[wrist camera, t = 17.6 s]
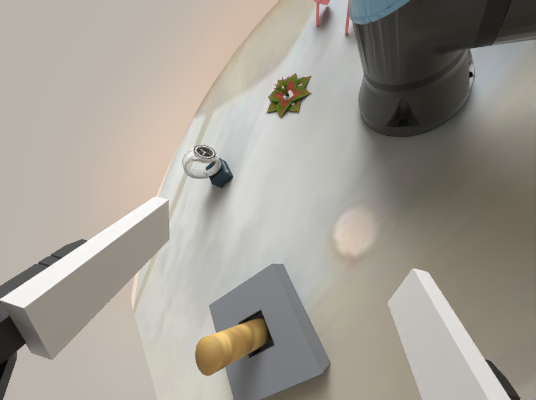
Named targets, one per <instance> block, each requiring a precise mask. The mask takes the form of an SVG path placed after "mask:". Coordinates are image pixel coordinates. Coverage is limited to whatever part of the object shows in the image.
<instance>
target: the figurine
mask: <svg viewBox="0 0 536 400" xmlns="http://www.w3.org/2000/svg"><path fill="white" fill-rule="evenodd" d="M314 1H315V2H317V11H316V26H318V25H319V3H320V4H324V5H328V3H329V1H330V0H314ZM349 18H350V15H349V2H348V11H347V19H346V28H345V34H348V26H349Z"/></svg>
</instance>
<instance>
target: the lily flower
mask: <svg viewBox="0 0 536 400" xmlns="http://www.w3.org/2000/svg"><path fill="white" fill-rule="evenodd" d="M310 77H311V76H310ZM310 77H306V78H305V77H303V78H300V79H299V80H297V75H296V73H295V74H294V75H292V76H291V77H289V78H287V80H286V79H285V80H283V77H282V80H278V83H277V85H276V88H274V89H276V90H274V91H273V92H272V93H271V95H270V96H268V97H269V98H270V99H271V100H272V102H271V104H270V106H269V108H268V111H267V112H270V111H275V110H277V111H278V113H279V115H280V118H281V116H282V115H283V113H284V112H285V110H286V109H288V110H291V111H297V112H299V106H300V98H301V97H304V96H306V95H308V94H311V93H309V92H308V91H307V90H306V88H305V86H306V84H307V82H308V81H309V78H310ZM302 83H303V84H302ZM300 84H302V86H298V87H296V86H297V85H300ZM274 85H275V84H274ZM282 86H283V87H284V89H283V88H282ZM289 90H291V91H292V92H293V94H294V96H292V97H291V98H290V99H289V100H288V101H286V100H285V99H284V98H283V95H284V94H286V95H285V96H289V94H288V91H289ZM291 100H292V101H294V100H295V106H294V105H291ZM278 101H280V102H279V103H278ZM277 103H278V104H277ZM276 105H277V106H276ZM267 112H266V113H267Z"/></svg>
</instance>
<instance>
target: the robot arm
mask: <svg viewBox="0 0 536 400" xmlns="http://www.w3.org/2000/svg"><path fill="white" fill-rule="evenodd" d="M349 15H350V19H351V20H352V22H353V27H354V31H355V36H356V40H357V45H358V49H359V53H360V58H361V62H362V67H363V71H364V75H363V81H362V85H361V88H360V92H359V108H360V111H361V115H362V118H363V119H364V121H365V123H366V124H367V125H368V126H369V127H370V128H372V129H373V130H375V131H376V132H379V133H381V134H384V135H388V136H397V137H403V136H412V135H417V134H421V133H424V132H427V131H430V130H432V129H435V128H437V127H439V126H440V125H442V124H444V123H445V122H447V121H448V120H449V119H451V118H452V117H453V116H454V115H455V114H456V113H457V112H458V111H459V110H460V109H461V108H462V107H463V105H464V104H465V102H466V101H467V99H468V96H469V94H470V91H471V89H472V86H473V83H474V77H475V68H474V63H473V61H472V55H471V51H470V49H471V48H477V47H483V46H491V45H497V44H504V43H512V42H519V41H527V40H534V39H536V0H349ZM168 240H169V200H167V199H163V198H160V197H156V196H155V197H154V198H152V199H151V200H149V201H148V202H146V203H145V204H143V205H141V206H140V207H138V208H137V209H135V210H134V211H132V212H131V213H129V214H128V215H126V216H125V217H124V218H122V219H120V220H119V221H117V222H116V223H114V224H113V225H111V226H110V227H108V228H107V229H105V230H104V231H102V232H101V233H100V234H98V235H96V236H95V237H93V238H92V239H90V240H89V241H87V240H83V239H81V240H79V241H76V242H73V243H71V244H68V245H66V246H64V247H62V248H61V249H59V250H57V251H56V252H54V253H53V254H51V256H50V257H46V258H45V259H43V260H41V261H40V262H39V263H38V264H35V265H33V266H32V267H30V268H28V269H27V270H25V271H24V272H22V273H20V274H19V275H17V276H15V277H14V278H12V279H11V280H9V281H7V282H6V283H4V284H3V285H1V286H0V400H3V397H4V395H5V392H6V389H7V386H8V383H9V380H10V377H11V374H12V371H13V368H14V365H15V362H16V359H17V352H16V351H17V350H18V349H20V348H21V347H22V346H23V345H24V344H25V343H26V345H27V346H28V348H29V350H30V351H31V353H33V354H36V355H39V356H42V357H45V358H48V359H51V360H52V359H54V358H55V357H56V355H57V354H58V353H59V352H60V351H61V350H62V349H63V348H64V347H65V346H66V345H67V344H68V343H69V342H70V341H71V340H72V339H73V338H74V337H75V336H76V335H77V334H78V333H79V332H80V331H81V330H82V329H83V328H84V327H85V326H86V325H87V324H88V323H89V322H90V320H91V319H92V318H93V317H94V316H95V315H96V314H97V313H98V312H99V311H100V310H101V309H102V308H103V307H104V306H105V305H106V304H107V303H108V302H109V301H110V300H111V299H112V298H113V297H114V296H115V295H116V294H117V293H118V292H119V291H120V290H121V288H122V287H124V285H125V284H126V283H127V282H128V281H129V280H130V279H131V278H132V277H133V276H134V275H135V274H136V273H137V272H138V271H139V270H140V269H141V268H142V267H143V266H144V265H145V264H146V263H147V262H148V261H149V260H150V259H151V258H152V257H153V256H154V255H155V254H156V253H157V252H158V250H159V249H160V248H161V247H162V246H163V245H164V244H165V243H166V242H167V241H168ZM388 306H389V309H390V311H391V314H392V317H393V320H394V323H395V325H396V328H397V331H398V334H399V337H400V339H401V342H402V345H403V348H404V350H405V353H406V356H407V359H408V362H409V364H410V367H411V370H412V373H413V376H414V378H415V381H416V384H417V387H418V389H419V392H420V395H421V398H422V400H520V397H519V396H518V394H517V393H516V391H515V390H514V388H513V387H512V386H511V384H510V383H509V381H508V380H507V378H506V377H505V376H504V375H503V374H502V373H501V372H500V371H499V370H498V369H497V368H496V367H495V366H494V364H493V363H492V362H491V361H489V360H486V359H484V358H483V356H482V354H481V353H480V351H479V350H478V348H477V347H476V345H475V344H474V342H473V341H472V339H471V337H470V336H469V334H468V333H467V331H466V330H465V328H464V327H463V325H462V324H461V322H460V320H459V319H458V317H457V316H456V314H455V313H454V311H453V310H452V308H451V307H450V305H449V303H448V302H447V300H446V299H445V297H444V296H443V294H442V293H441V291H440V290H439V288H438V287H437V285H436V283H435V282H434V280H433V279H432V277H431V276H430V274H429V273H428V272H426V271H422V270H418V269H415V268H412V270H411V271H410V272H409V274H408V275H407V277H406V278H405V279H404V281H403V282H402V283H401V285H400V286H399V288H398V289H397V290H396V292H395V293H394V294H393V296H392V297H391V299H390V300H389V301H388Z"/></svg>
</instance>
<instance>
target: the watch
mask: <svg viewBox="0 0 536 400" xmlns="http://www.w3.org/2000/svg"><path fill="white" fill-rule="evenodd" d="M191 160H192V161H199V162H202V163H210V164H209V165H208V166H207V167H206V171H205V170H193V169H192V170H190V169H189V170H188V169H186V166H187V164H188V163H189V161H191ZM182 164H183V167H184V170H185V173H186V174H187V175H188V176H190V177H192V178H197V179H204V178H208V177H209V178H210V180H211V183H212V184H213V185H216V186H218V187H220V188H222V187H223V186H224V185H225V184H226V183H227V182H228V181H229V180H230V179H231V178H232V177H233V175H232V173H231V171H230V169H229V167H228V165H227V163H226V162H225V161H224V160H222V159H220V158H219V157H218V155H217V153H216V152H215V151H214V150H213V149H212V148H210V147H208V146H205V145H197V146H195V147H194V148H192V149H190V150H189V151H188V152H187V153H186V154H185V155H184V157H183V160H182Z"/></svg>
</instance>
